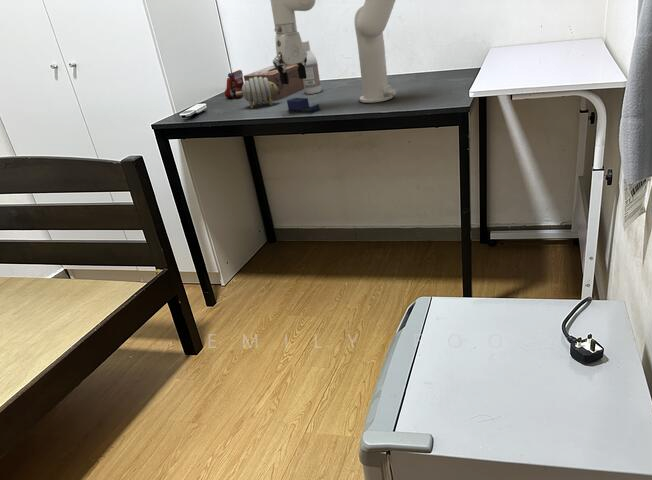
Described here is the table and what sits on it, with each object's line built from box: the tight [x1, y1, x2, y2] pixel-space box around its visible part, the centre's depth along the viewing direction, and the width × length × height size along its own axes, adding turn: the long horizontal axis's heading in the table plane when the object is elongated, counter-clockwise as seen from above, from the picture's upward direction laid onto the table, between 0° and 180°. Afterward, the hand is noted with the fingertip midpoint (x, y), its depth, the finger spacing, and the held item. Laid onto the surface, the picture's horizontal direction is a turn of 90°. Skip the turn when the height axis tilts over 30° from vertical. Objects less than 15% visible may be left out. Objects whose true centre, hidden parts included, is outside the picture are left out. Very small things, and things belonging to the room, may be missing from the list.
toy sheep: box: [235, 77, 278, 109], centre depth 221 cm, size 11×17×11 cm, turn 106°
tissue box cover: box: [243, 64, 305, 101], centre depth 240 cm, size 26×14×10 cm, turn 155°
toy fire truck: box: [224, 69, 245, 99], centre depth 244 cm, size 7×12×10 cm, turn 158°
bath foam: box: [301, 40, 322, 95], centre depth 230 cm, size 7×7×20 cm
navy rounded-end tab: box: [286, 97, 321, 114], centre depth 206 cm, size 12×5×4 cm, turn 55°
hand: (294, 81), depth 202 cm, fingers open, 9 cm apart
